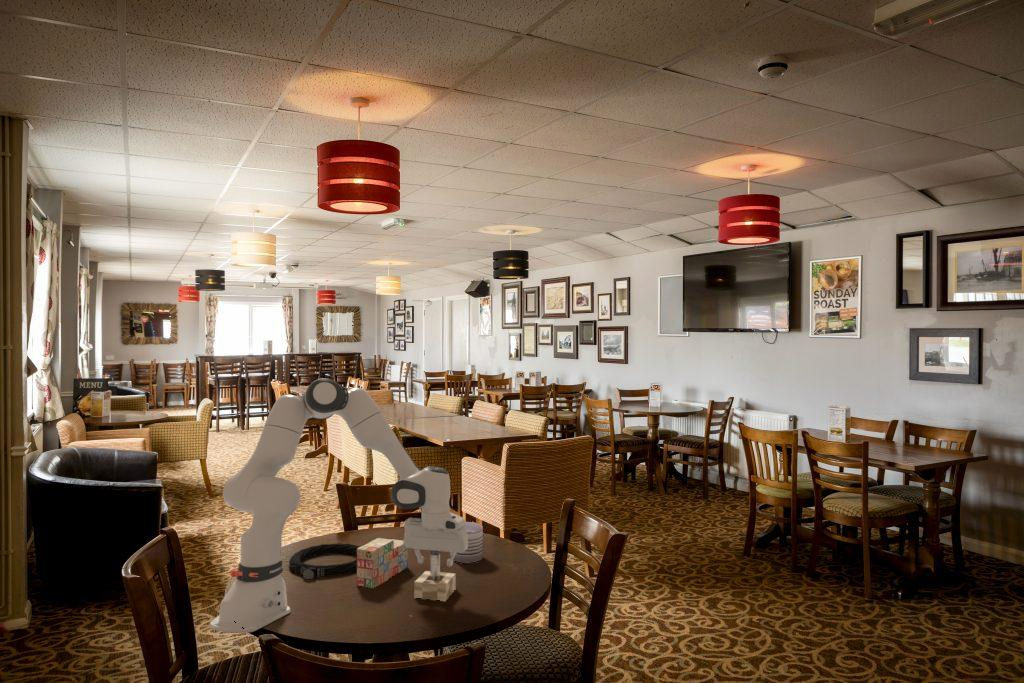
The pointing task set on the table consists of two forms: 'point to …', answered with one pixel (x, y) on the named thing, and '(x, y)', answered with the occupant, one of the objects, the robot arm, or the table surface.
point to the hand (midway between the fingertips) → (435, 564)
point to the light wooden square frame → (435, 586)
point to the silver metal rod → (434, 565)
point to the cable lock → (322, 570)
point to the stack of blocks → (380, 561)
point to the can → (472, 544)
